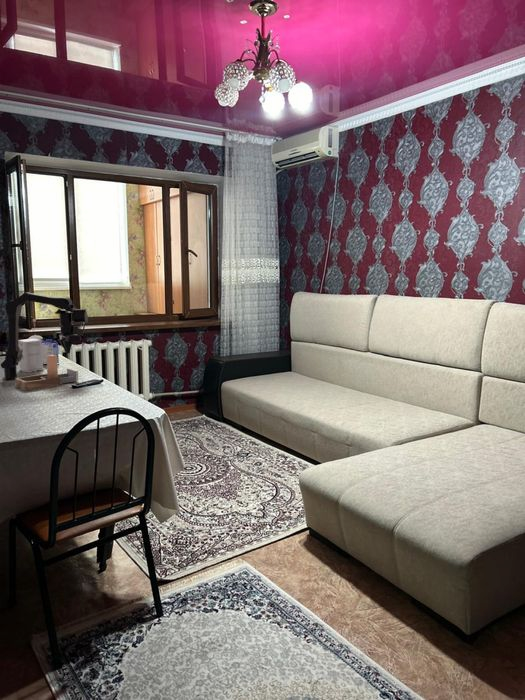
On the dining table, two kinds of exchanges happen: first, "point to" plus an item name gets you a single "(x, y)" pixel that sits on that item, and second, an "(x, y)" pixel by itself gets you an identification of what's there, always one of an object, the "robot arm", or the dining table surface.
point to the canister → (52, 366)
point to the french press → (35, 335)
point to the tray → (66, 376)
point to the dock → (36, 382)
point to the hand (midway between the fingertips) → (67, 353)
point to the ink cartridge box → (49, 350)
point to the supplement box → (31, 355)
